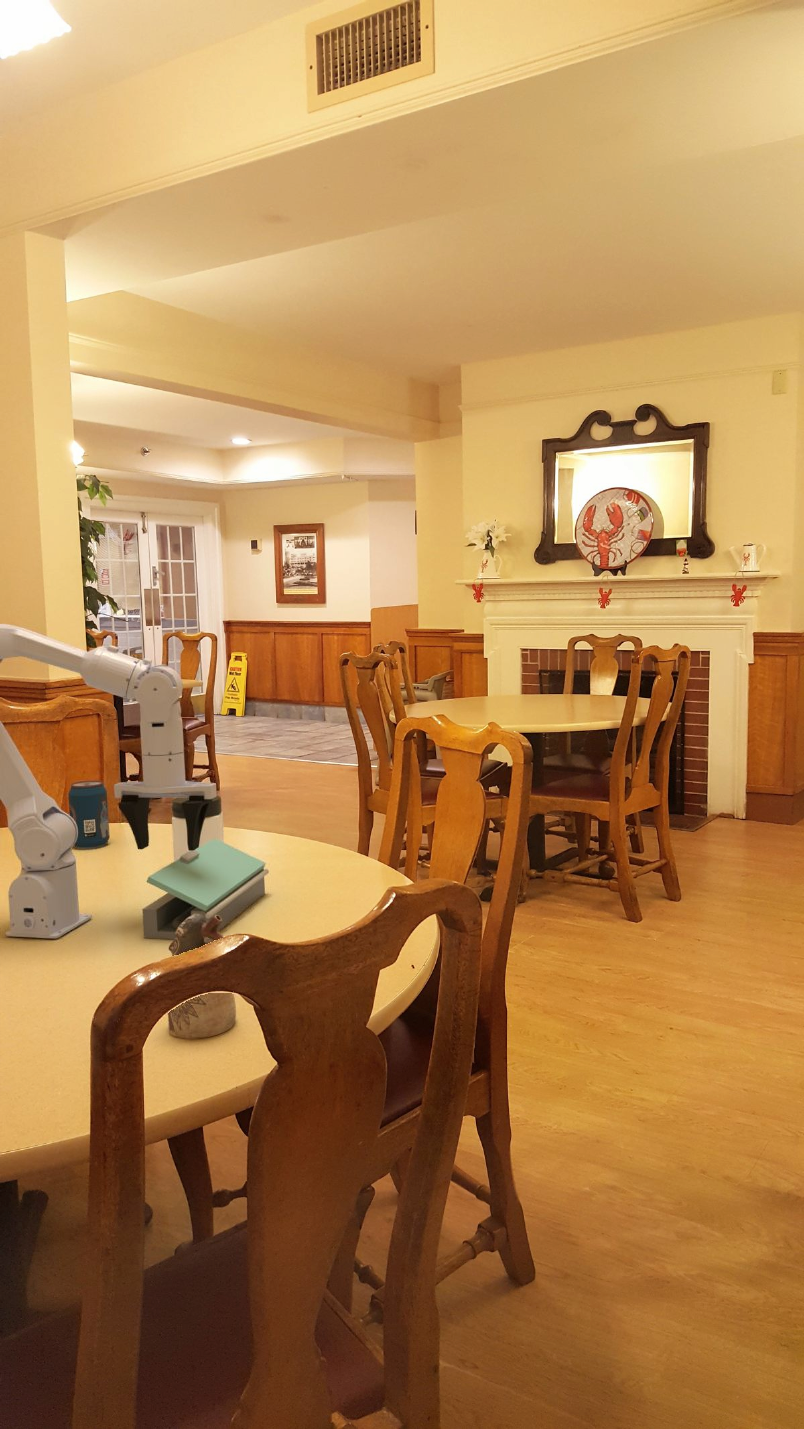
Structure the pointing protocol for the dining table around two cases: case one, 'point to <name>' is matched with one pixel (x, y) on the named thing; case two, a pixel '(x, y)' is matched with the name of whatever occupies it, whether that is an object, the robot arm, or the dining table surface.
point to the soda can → (89, 813)
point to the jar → (209, 830)
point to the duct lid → (206, 873)
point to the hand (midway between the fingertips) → (168, 848)
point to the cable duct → (174, 911)
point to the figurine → (205, 1010)
